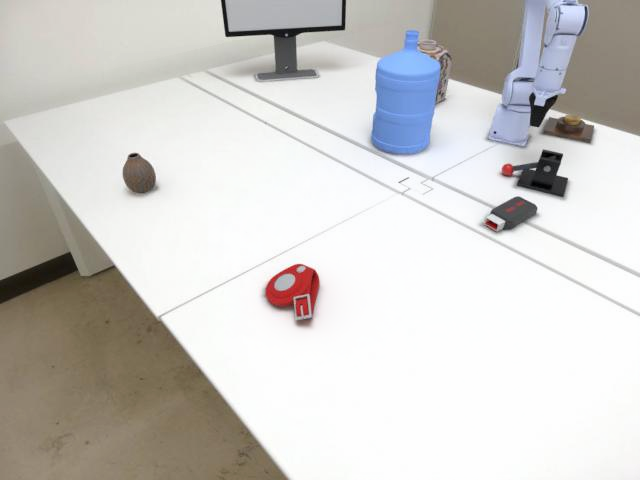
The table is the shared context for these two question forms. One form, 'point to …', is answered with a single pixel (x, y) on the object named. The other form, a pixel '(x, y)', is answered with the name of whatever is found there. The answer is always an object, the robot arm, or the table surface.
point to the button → (572, 119)
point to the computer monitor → (283, 27)
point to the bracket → (545, 175)
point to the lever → (521, 166)
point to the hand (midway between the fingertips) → (534, 125)
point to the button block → (569, 130)
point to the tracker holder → (295, 289)
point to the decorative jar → (444, 60)
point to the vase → (138, 174)
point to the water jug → (405, 99)
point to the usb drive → (510, 214)
